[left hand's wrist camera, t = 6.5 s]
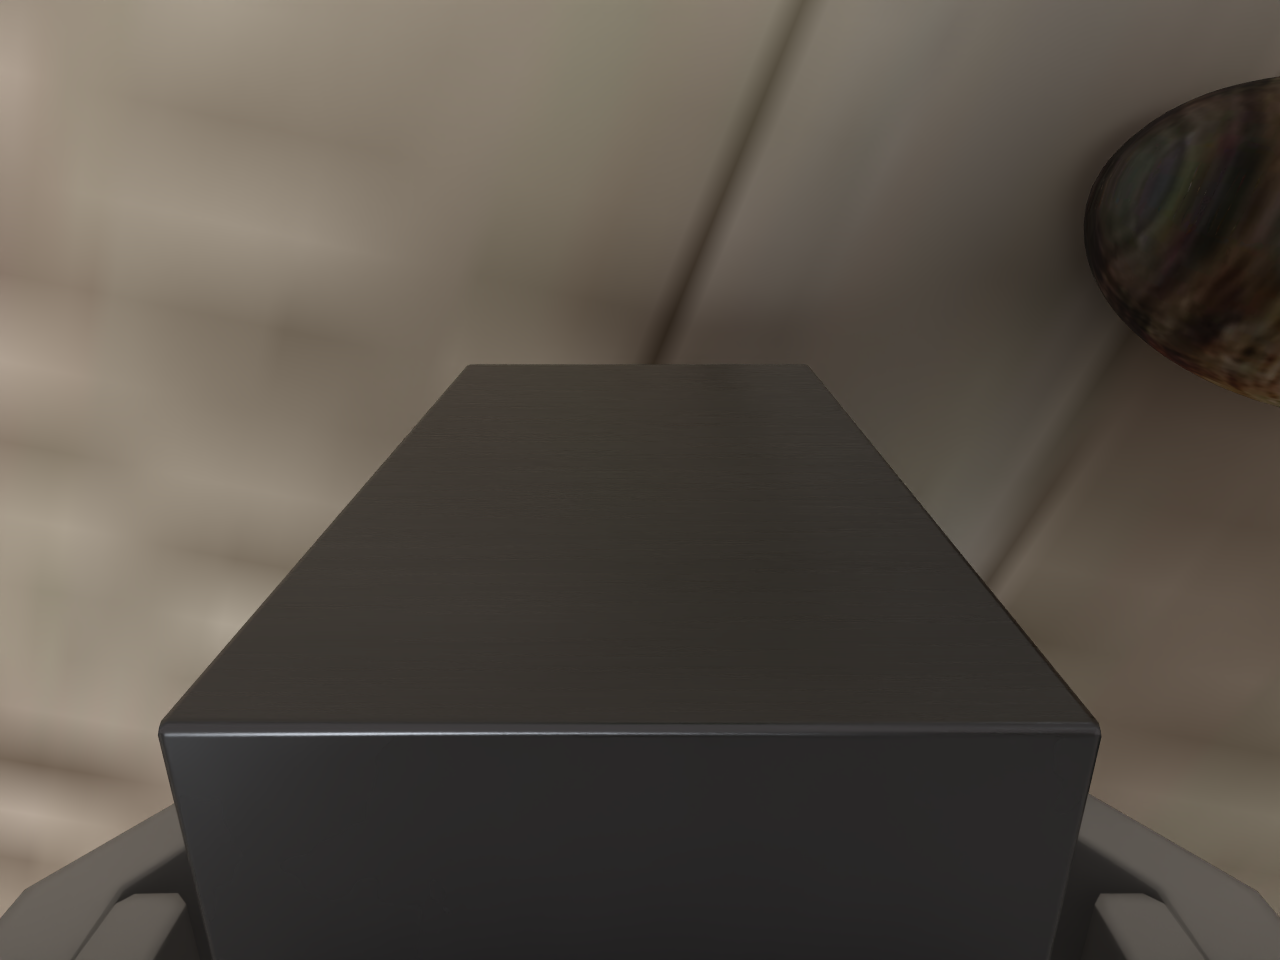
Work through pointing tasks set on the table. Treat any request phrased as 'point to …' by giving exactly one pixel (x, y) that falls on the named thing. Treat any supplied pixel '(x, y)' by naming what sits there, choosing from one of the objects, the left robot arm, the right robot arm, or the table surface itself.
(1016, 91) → the table surface
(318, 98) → the table surface
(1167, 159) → the seashell
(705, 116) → the table surface
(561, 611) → the bar
